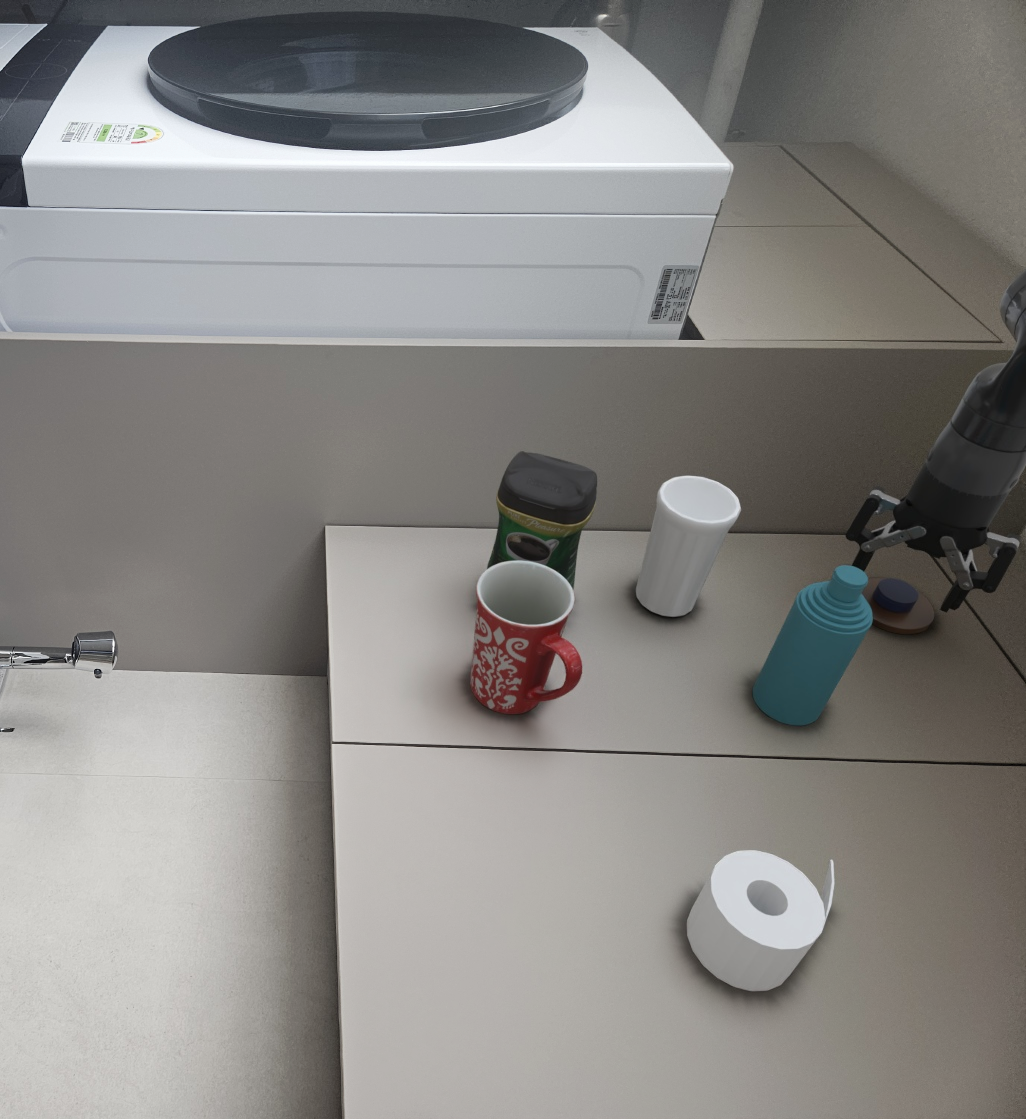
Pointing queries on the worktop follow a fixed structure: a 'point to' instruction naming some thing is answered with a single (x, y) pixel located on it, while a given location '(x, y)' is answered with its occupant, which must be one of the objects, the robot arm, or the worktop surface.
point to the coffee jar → (543, 512)
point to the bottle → (814, 648)
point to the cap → (895, 595)
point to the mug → (521, 636)
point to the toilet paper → (757, 919)
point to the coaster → (899, 622)
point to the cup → (684, 542)
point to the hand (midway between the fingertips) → (900, 590)
